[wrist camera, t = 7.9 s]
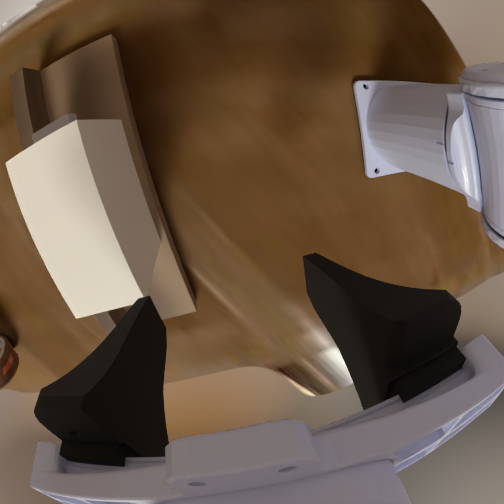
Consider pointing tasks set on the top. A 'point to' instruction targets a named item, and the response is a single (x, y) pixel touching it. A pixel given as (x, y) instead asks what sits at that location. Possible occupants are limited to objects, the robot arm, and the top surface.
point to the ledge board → (119, 107)
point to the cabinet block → (87, 213)
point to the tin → (7, 362)
